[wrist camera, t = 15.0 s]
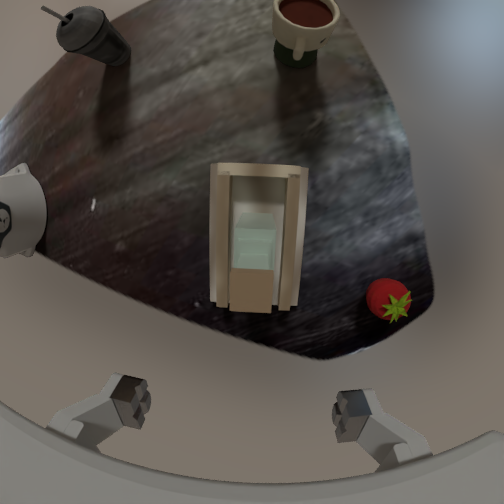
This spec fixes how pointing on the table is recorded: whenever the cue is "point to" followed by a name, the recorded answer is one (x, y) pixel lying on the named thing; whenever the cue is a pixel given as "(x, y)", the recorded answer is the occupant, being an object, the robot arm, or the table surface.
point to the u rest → (258, 201)
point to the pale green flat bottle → (253, 263)
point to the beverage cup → (91, 35)
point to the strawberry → (388, 299)
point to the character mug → (302, 29)
